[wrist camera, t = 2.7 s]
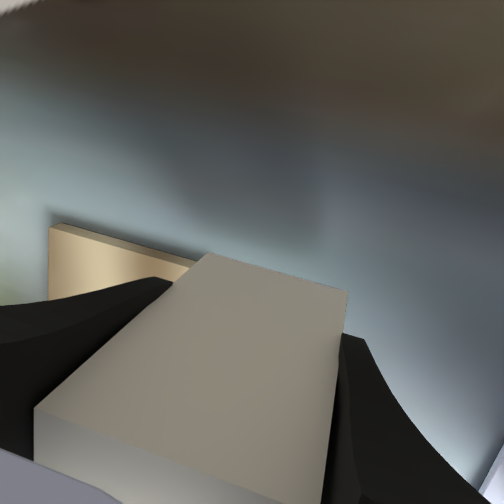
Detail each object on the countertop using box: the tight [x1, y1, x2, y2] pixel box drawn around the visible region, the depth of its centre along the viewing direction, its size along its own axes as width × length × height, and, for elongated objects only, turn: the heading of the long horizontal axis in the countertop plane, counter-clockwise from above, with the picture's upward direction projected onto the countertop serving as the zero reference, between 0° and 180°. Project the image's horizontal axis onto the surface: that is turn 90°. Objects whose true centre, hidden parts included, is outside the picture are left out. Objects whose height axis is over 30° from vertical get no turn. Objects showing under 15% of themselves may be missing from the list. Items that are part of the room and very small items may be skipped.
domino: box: [34, 252, 348, 504], centre depth 11 cm, size 5×2×8 cm, turn 79°
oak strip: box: [48, 223, 197, 301], centre depth 23 cm, size 8×24×1 cm, turn 169°
